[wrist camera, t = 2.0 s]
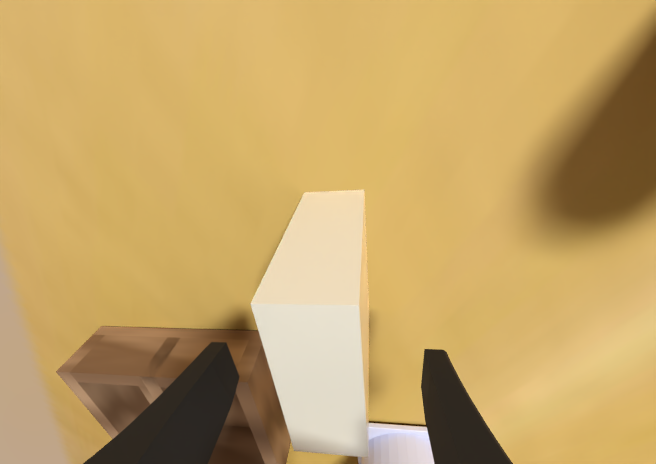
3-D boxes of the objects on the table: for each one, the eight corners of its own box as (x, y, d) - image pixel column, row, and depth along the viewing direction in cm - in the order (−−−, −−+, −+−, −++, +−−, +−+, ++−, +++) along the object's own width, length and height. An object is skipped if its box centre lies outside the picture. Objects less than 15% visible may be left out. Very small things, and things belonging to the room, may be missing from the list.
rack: (293, 427, 27) (282, 478, 23) (160, 416, 29) (133, 463, 25) (266, 330, 21) (247, 382, 17) (101, 326, 23) (56, 371, 19)
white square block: (369, 310, 19) (368, 457, 12) (321, 309, 19) (294, 450, 12) (364, 189, 15) (359, 305, 8) (304, 192, 15) (250, 303, 8)
